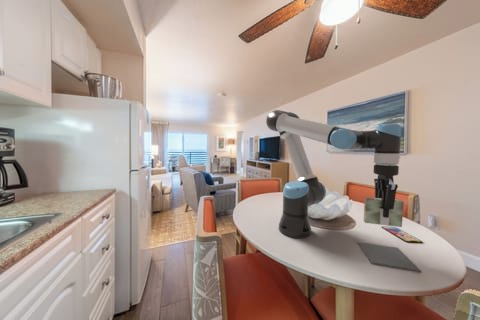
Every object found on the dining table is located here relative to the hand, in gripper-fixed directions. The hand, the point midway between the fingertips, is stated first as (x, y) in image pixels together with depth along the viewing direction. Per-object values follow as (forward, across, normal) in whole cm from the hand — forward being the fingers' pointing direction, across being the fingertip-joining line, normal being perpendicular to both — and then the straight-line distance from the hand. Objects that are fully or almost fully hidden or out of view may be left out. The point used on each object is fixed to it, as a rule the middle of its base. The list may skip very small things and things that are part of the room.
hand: (382, 223), depth 70 cm
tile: (0, 0, 0) cm, 0 cm away
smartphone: (+12, +18, -15) cm, 26 cm away
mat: (+11, -4, 0) cm, 12 cm away
